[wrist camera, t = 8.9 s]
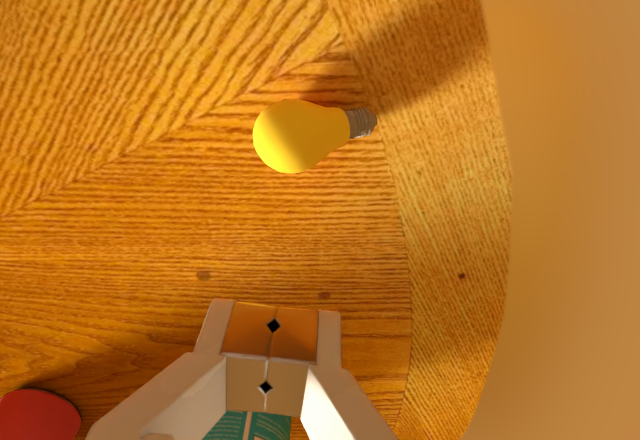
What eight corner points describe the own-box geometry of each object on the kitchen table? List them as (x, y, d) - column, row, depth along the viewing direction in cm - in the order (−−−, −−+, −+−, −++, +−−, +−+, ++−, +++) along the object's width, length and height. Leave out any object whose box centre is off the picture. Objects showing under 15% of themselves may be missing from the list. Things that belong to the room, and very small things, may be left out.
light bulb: (244, 107, 21) (246, 105, 18) (359, 86, 22) (382, 80, 19) (258, 174, 22) (264, 184, 19) (369, 151, 23) (393, 157, 20)
